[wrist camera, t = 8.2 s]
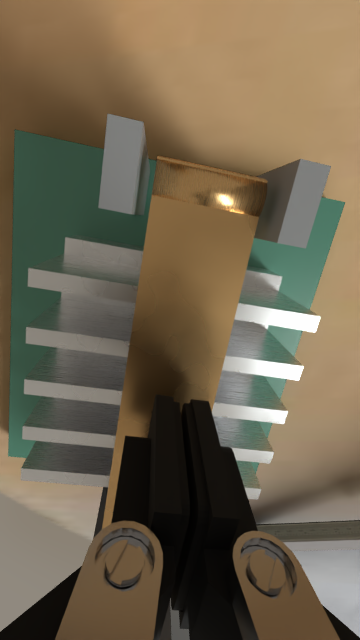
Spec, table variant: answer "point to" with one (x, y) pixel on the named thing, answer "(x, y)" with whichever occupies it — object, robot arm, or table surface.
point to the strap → (185, 291)
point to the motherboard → (141, 232)
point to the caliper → (316, 535)
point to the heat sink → (111, 359)
